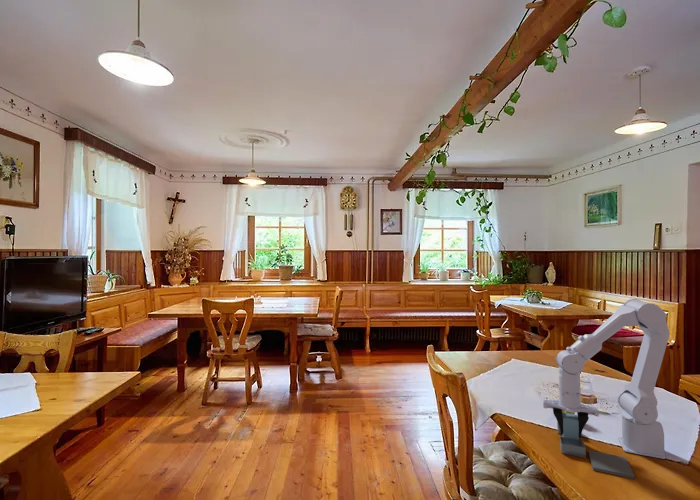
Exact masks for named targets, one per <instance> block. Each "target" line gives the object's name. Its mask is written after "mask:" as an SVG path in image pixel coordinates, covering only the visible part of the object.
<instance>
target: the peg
mask: <svg viewBox="0 0 700 500" xmlns="http://www.w3.org/2000/svg"><path fill="white" fill-rule="evenodd" d="M562 415H563V434H561V435H562V436H561V437H565V438H570V439H576V440H580V439H579V421H578V417H577V414H575V415H574V414H568V413H562Z"/></svg>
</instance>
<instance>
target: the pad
mask: <svg viewBox="0 0 700 500" xmlns="http://www.w3.org/2000/svg"><path fill="white" fill-rule="evenodd" d="M587 453H588V457H589V460H590V464H591V469H592V471H596V472H600V473H604V474H609V475H615V476H617V477H622V478H628V479H632V480H635V474H634V472H633V469H632V468H631V467H632V466H631V465H630V464H629V460H628V458H627V457H625V456H620V455H616V454H611V453H605V452H601V451H596V450H591V449H587Z"/></svg>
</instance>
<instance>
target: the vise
mask: <svg viewBox="0 0 700 500" xmlns="http://www.w3.org/2000/svg"><path fill="white" fill-rule="evenodd" d="M556 422H557V425H556V427H557V428H556V429H557V433H558V434H559V435H562V434H561V433H560V427H559V424H558V421H557V420H556ZM579 438H580V437H579ZM559 441H560V444H559V446H560V453H561V454H563V455H568V456H572V457H578V458H583V459H586V458H587V457H586V456H587V453H586V450H587V449H586V445H585V441H584V440H581V439H579V440H576V439H570V438H565V437H562V436H560V437H559Z"/></svg>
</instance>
